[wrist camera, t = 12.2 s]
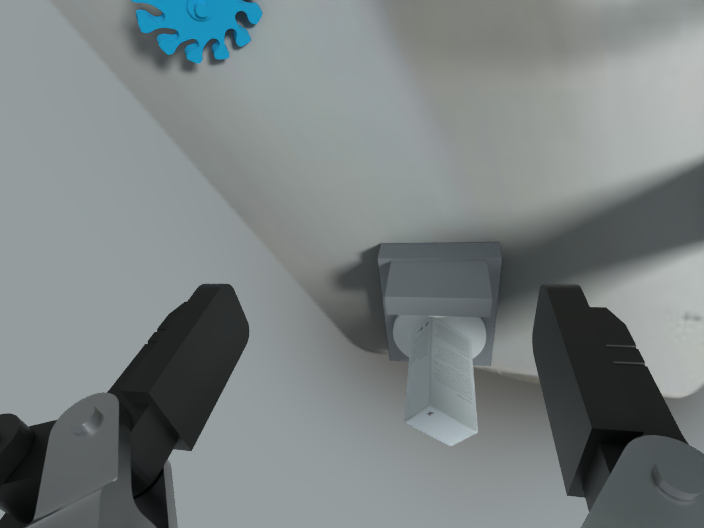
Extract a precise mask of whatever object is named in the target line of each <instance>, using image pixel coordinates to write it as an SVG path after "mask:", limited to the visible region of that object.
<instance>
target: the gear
mask: <svg viewBox="0 0 704 528" xmlns="http://www.w3.org/2000/svg"><path fill="white" fill-rule="evenodd" d="M131 1H133V2H137V3H147V4H150V5H153V6H155V7H156V8H158V9H159V10H161V11H162V12H163V13H162V15H161V16H153V15H151V14H150V13H149V12H147V11H145V10H137V11H136V18H137V21H138V24H139V27H140V29H141V32H143V33H150V32H152V31H153V30H155V29H159V28H170V29H175V30H177V32H176V33H175V34H172V35H171V34H160V35H158V37H157V41H158V44H159V46H160V48H161V49H162V50H163V51H164V52H165V53H166V54H168V55H171V54H173V53H174V52H175V50H176V48H177V47H178V45H179V44H181V43H182V42H184V41H186V40H189V39H196V42H195V43H193V44H190V45H188V46H187V47H186V48H185V55H186V57H187V59H188V60H190V61H192V62H195V63H201V61H202V58H203V57H202V51H203V48H204V46H205V45H206V43H207V42H208V41H209V40H210V39H213V38H214V39H217V41H216V42H215V43H214V44H213V46H212V51H213V54H214V56H215V58H216V59H227V58H229V52H228V50H227V47H226V45H225V44H224V36H225V32H226V30H228V29H234V33H233V36H234V38H235V41H236V43H237V45H238V46H240V47H241V46H244V45H246V44H247V43H248V42H250V41H251V38H250V36H249V34H248V31H247V30H246V29H245V28H243V27H241V26H240V25H239V24H238V23H237V22H236V19H235V15H236V13H237V12H238V11H244V12H245V13H246V15H247V17H248V20H249V21H250V22H251V23H252V24H257V23H258V21H259V20H260V18H261V16H262V11H261V9H260V7H259V5H258V4H256V3H249V2H245V1H242V0H131Z"/></svg>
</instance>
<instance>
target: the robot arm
mask: <svg viewBox="0 0 704 528" xmlns="http://www.w3.org/2000/svg"><path fill="white" fill-rule="evenodd" d="M248 338H249V325H248V322H247V319H246V317H245V314H244V312H243V310H242V307H241V305H240V303H239V300H238V298H237V295H236V293H235V291H234V289H233V287H232V286H231V285H229V284H202V285H200V286H199V287H198V288H197V289H196V291H195V292H194V293H193V295H192V296H191V297H190V299H189V300H188V301H187V302H184V303H183V304H182V305H180V306H179V307H178V308H176V309H175V310H174V311H173V312H171V313H170V314H169V315H168V316H167V317H166V319H165V320H164V321H163V322H162V324H161V325H160V326H159V328H158V329H157V332H155V333H154V334H153V335H152V336H151V338H150V339H149V340H148V344H145V345H144V347H143V348H142V349H141V350H140V352H139V353H138V354H137V355H136V357H135V358H134V359H133V360H132V362H131V363H130V364H129V366H128V367H127V368H126V369H125V371H124V372H123V373H122V375H121V376H120V377H119V378H118V380H117V381H116V382H115V383H114V385H113V386H112V387H111V388H110V390H109V391H108V392H107V393H97V394H93V395H91V396H88V397H86V398H84V399H82V400H80V401H78V402H77V403H75V404H74V405H73V406H71V407H70V408H69V409H67V410H66V411H65V412H64V413H63V414H62V415H61V416H60V418H59V419H58V420H55V421H50V422H46V423H42V424H38V425H33V426H29V427H28V426H27V425H26V424H25V423H24V422H23V421H21V420H20V419H19V418H18V417H17V416H16V415H13V414H1V415H0V509H1V510H3V511H4V512H6V513H5V514H4V516H3V517H2V518H1V520H0V528H178V527H177V517H176V508H175V499H174V489H173V479H172V470H171V464H170V462H169V461H168V457H169V455H170V454H171V452H172V450H173V449H178V450H186V451H192V449H193V447H194V445H195V443H196V441H197V439H198V437H199V435H200V434H201V432H202V430H203V428H204V426H205V424H206V422H207V420H208V418H209V416H210V414H211V412H212V410H213V408H214V406H215V405H216V403H217V401H218V399H219V397H220V395H221V393H222V391H223V389H224V387H225V385H226V383H227V381H228V379H229V377H230V375H231V373H232V371H233V370H234V368H235V366H236V364H237V362H238V360H239V358H240V356H241V354H242V352H243V350H244V348H245V346H246V344H247V342H248ZM532 343H533V353H534V358H535V363H536V367H537V371H538V375H539V379H540V384H541V388H542V392H543V396H544V400H545V404H546V409H547V413H548V417H549V421H550V425H551V430H552V434H553V438H554V442H555V447H556V451H557V454H558V459H559V463H560V467H561V472H562V476H563V480H564V484H565V488H566V493H567V496H576V497H585V498H586V501H587V505H588V509H589V514H588V515H587V517H586V519H585V521H584V523H583V524H582V526H581V528H704V454H703V453H702V452H700V451H699V450H697V449H696V448H694V447H692V446H690V445H689V444H688V443H687V442H686V440H685V439H684V437H683V435H682V433H681V431H680V430H679V428H678V426H677V424H676V422H675V420H674V418H673V416H672V414H671V412H670V410H669V408H668V406H667V404H666V403H665V400H664V398H663V397H662V395H661V393H660V391H659V389H658V387H657V385H656V383H655V381H654V379H653V377H652V375H651V373H650V371H649V369H648V367H647V366H645V364H644V363H645V362H644V360H643V358H642V356H641V354H640V352H639V350H638V349H636V344H635V342H634V340H633V338H632V336H631V334H630V332H629V330H628V329H627V327H626V325H625V324H624V323H623V322H622V321H621V320H620V319H618V318H617V317H616V316H615V315H614V314H613V313H612V312H611V311H609V310H608V309H607V308H600V307H589V305H588V302H587V300H586V298H585V296H584V293H583V291H582V289H581V287H580V286H579V285H542V286H541V288H540V291H539V297H538V303H537V309H536V315H535V321H534V327H533V335H532Z"/></svg>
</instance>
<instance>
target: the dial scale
mask: <svg viewBox="0 0 704 528" xmlns="http://www.w3.org/2000/svg"><path fill="white" fill-rule="evenodd" d="M377 259H378V267H379V276H380V284H381V292H382V300H383V308H384V317H385V325H386V333H387V341H388V350H389V358H390V360H394V361H409V355H410V343H411V334H412V333H413V332H414V331H415V330H416V329H417V328H419V327H420V326H421V325H422V324H423V323H424V322H425V321H427V320H428V319H429V318H430V317H435V318H436V319H438V320H440V321H441V322H443V323H445V324H446V325H448V326H450V327H451V328H453V329H455V330H456V331H458V332H460V333H461V334H463V335H465V336H467V337H468V338H470V339H471V346H472V359H473V365H481V366H491V360H492V350H493V341H494V331H495V322H496V313H497V303H498V294H499V284H500V275H501V266H502V254H501V249H500V244H499V242H465V243H385V244H381V245H380V250H379V254H378V258H377Z"/></svg>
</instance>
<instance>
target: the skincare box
mask: <svg viewBox="0 0 704 528" xmlns="http://www.w3.org/2000/svg"><path fill="white" fill-rule="evenodd" d="M405 423H406V424H408V425H410V426H412V427H414V428H416V429H418V430H420V431H422V432H424V433H426V434H428V435H430V436H431V437H433V438H435V439H437V440H439V441H441V442H443V443H445V444H447V445H449V446H453V445H454V444H456V443H458V442H460V441H462V440H464V439H466V438H468V437H470V436H472V435H474V434H476V433H478V425H477V412H476V399H475V385H474V373H473V359H472V346H471V339H470V338H468V337H467V336H465V335H463V334H461V333H460V332H458V331H456V330H455V329H453V328H451V327H450V326H448V325H446V324H445V323H443V322H441V321H440V320H438V319H436V318H435V317H430V318H429V319H428V320H427V321H425V322H424V323H423V324H422V325H421V326H420V327H419V328H417V329H416V330H415V331H414V332H413V333H412V334H411V343H410V355H409V369H408V382H407V394H406V407H405Z"/></svg>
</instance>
